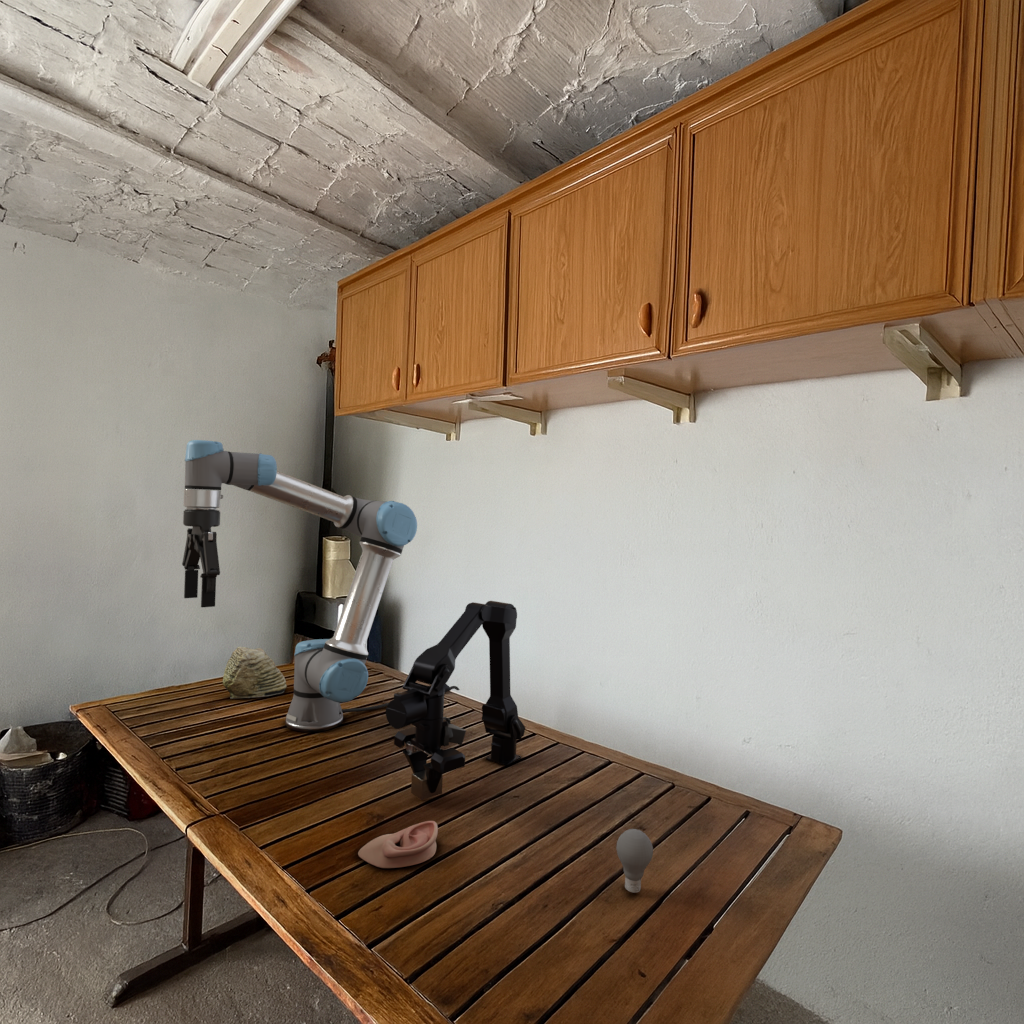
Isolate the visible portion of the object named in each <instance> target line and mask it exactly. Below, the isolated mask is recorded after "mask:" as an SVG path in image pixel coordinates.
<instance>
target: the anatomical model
mask: <svg viewBox="0 0 1024 1024" xmlns="http://www.w3.org/2000/svg"><path fill="white" fill-rule="evenodd" d="M438 833H439V826H438V823H437V822H436V821H435V820H426V821H422V822H419V823H416V824H413V825H410V826H408V827H406V828H403V829H401V830H399V831H397V832H394V833H387V834H382V835H380V836H377V837H375V838H373V839H372V840H370V841H368V842H367V843H366V844H365V845H363V846H361V848H360V849H359V850H358V852H357V855H358V857H359V858H360V859H362V860H363V861H365V862H366V863H368V864H370V865H372V866H375V867H377V868H381V869H395V868H404V867H410V866H415V865H418V864H421V863H424V862H426V861H428V860H430V859H431V858H433V857H434V855H435V854H436V852H437V841H436V840H437V838H438Z"/></svg>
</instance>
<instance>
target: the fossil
mask: <svg viewBox="0 0 1024 1024" xmlns="http://www.w3.org/2000/svg"><path fill="white" fill-rule="evenodd" d="M222 676H223V677H222V685H223V687H224V688H225V690H226V691H228V693H229V698H230V699H250V698H264V697H271V696H275V695H281V694H284V693H285V691H286V689H287V687H288V686H287V680H286V678H285V676H284V674H283V673H282V672H281V669H279V668H278V667H277V665H276V663H275V662H274V660H273V659H272V658H271V657H270V656H269V655H268V654H267V653H266V652H265V650H264V649H263V648H260V647H258V648H251V647H247V646H246V647H245V646H238V647H237V648H236V649H235V650H233V651H232V653H231V656H230V657H229V659H228V660H227V663H226V666H225V668H224V671H223V675H222Z"/></svg>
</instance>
